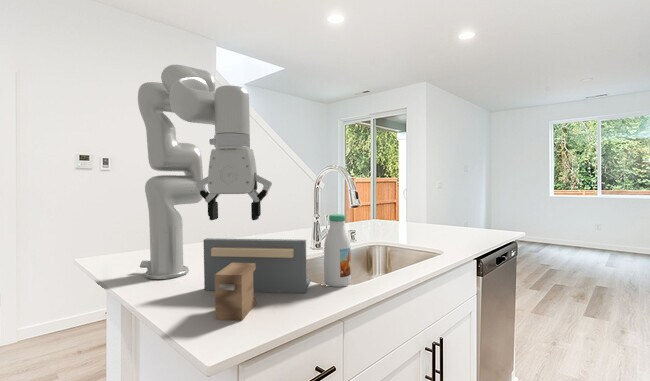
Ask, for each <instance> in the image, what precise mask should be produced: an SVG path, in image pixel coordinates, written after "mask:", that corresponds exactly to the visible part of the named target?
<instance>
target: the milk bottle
mask: <svg viewBox="0 0 650 381" xmlns="http://www.w3.org/2000/svg"><path fill="white" fill-rule="evenodd" d="M328 220H329V221H328V222H329V229H328V231H327V232H326V233H327V234H326V236H325V238H324V245H323V248H324V249H323V282H324V284H325V285H326V286H329V287H333V288H341V287H347V286H349V285H350V284H351V281H352V278H351V276H352V275H351V273H352V271H351V270H352V265H351V263H352V261H351V251H352V250H351V240H350V237H349V235H348V233H347V230H346V226H345V223H346V215H345V214H340V213H338V214H336V213H335V214H333V213H332V214H329V217H328Z"/></svg>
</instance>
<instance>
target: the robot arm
mask: <svg viewBox="0 0 650 381" xmlns="http://www.w3.org/2000/svg"><path fill="white" fill-rule="evenodd" d="M160 79H161V82H159V81H158V82H157V81H149V82H144V83H142V84H140V86H139V88H138V91H137V106H138V109H139V113H140V116H141V118H142V121H143V124H144V126H145V132H146V143H147V145H146V146H147V147H146V148H147V159H148V165H149V167H150V168H151V169H152V170H153V171H158V172H182V173H184V175H174V174H172V175H171V174H168V175H165V174H164V175H155V176H152V177H150V178H149V179H148V180H147V181H146V182H145V185H144V193H145V198H146V202H147V208H148V221H149V253H150V255H149V256H150V259H149V260H141V262H140V265H139V268H141V269H143V268H146V271H145V273H144V275H145V278H147V279H149V280H167V279H173V278H179V277H182V276H184V275H186V274H188V273H189V266H186V265H184V242H183V241H184V240H183V239H184V238H183V234H184V233H183V217H182V216H181V214H180V212H179V211H178V210H177V209H176V208H175V207H174V206H178V205H194V204H198V203H200V202H201V201H202V200H203V199H204V201H205V202H206V203H207V216H208V217H209V219H208V220H209V221H214V220H217V219H218V218H219V203H218V201H217V199H218V198H219V196H220V195H244V194H247V195H248V196H249V197H250V198H251V199H252V202H251V203H250V204H251V205H250V206H251V213H250V214H251V220H252V221H257V220H259V217H261V213H262V212H261V211H262V210H261V202H262V201H263V199H265V197H266V196H268V194H269V191H270V190H271V187H272V185H273V183H272V181H270V180H268V179H266V178H264V177H263V176H260V175H259V174H258V172H257V165H256V159H255V154H254V150H253V149H251V136H250V135H251V132H250V130H251V128H250V127H251V126H250V123H251V122H250V94H249V92H248V90H247V89H245V88H244V87H242V86H238V85H230V84H227V85H221V86H218V87H217V88H216V82H215V78H214V76H212V73H210V72H209V71H207V70H203V69H201V68H195V67H191V66H187V65H181V64H170V65H168V66H166V67H165V68H163V70H162V71H161V75H160ZM165 112H166V113H172V114H173V113H174V114H175V115H176V116H177V117H178V118H179V119H181V120H182V121H184V122H187V123H191V124H192V123H194V124H203V125H204V124H205V125H214V135H213V136H214V137H213V138H209V145H211V146H214V148H212V149H211V151H210V156H209V161H208V162H209V164H208V173H207V176H206V177H204V173H203V170H204V169H203V160H202V152H201V151H200V148H198V146H197V145H195V144H193V143H189V142H188V143H187V142H178V141H177V136H176V134H177V132H176V127H175V125H174V123H173V122H172V121H171V119H170V118H169V117H168V116H167V115H166V114H165ZM258 183H259V184H261V185H262V186H263V187H262V190H261V191H260V192H258V191H257V190H258ZM206 186H207V188H206Z"/></svg>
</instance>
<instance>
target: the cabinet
mask: <svg viewBox="0 0 650 381" xmlns="http://www.w3.org/2000/svg"><path fill="white" fill-rule="evenodd" d="M255 269H256V263H231V264H229V265H228V266H226V267H225V268H223V269H222V270H221V271H219V272H218V273H216V274H215V291H214V299H215V300H214V301H215V302H214V304H215V305H214V306H215V308H214V309H215V312H214V313H215V320H216V321H237V322H238V321H239V322H242V321H244V319H245V318H246V317H247V316H248V315H249V313H250V312H251V311H252V309H253V308H254V307H255V306H256V304H257V297H255V296H254V292H253V271H254V270H255Z"/></svg>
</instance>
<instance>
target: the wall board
mask: <svg viewBox="0 0 650 381" xmlns="http://www.w3.org/2000/svg"><path fill="white" fill-rule="evenodd" d="M231 263H256V269H255V270H254V271H253V293H281V294H282V293H283V294H284V293H286V294H289V293H290V294H291V293H292V294H306V293H307V290H308V288H309V286H310V283H311V279H312V278H311V277H307V239H286V238H285V239H284V238H283V239H282V238H277V239H276V238H274V239H273V238H213V237H212V238H210V237H209V238H208V237H206V238H205V239H203V272H204V273H203V279H204V282H203V283H204V284H203V285H204V291H210V290H211V291H212V292H213V291H214V292H215V274H216V273H218V272H219V271H221V270H222V269H223V268H225V267H226V266H228V265H229V264H231Z"/></svg>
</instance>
